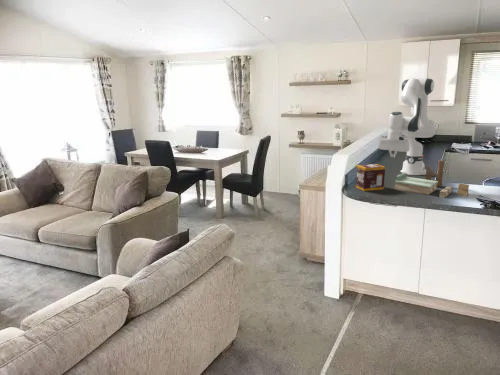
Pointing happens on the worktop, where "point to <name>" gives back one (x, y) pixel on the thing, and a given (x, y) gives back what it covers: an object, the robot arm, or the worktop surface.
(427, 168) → the brown wooden bracket
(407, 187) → the tan piece
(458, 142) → the worktop surface
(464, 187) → the brown wood block
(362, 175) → the supplement box
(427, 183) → the lid
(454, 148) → the worktop surface
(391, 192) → the worktop surface
